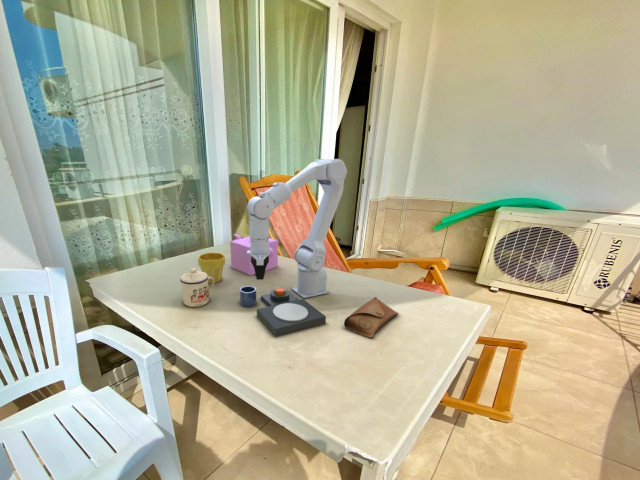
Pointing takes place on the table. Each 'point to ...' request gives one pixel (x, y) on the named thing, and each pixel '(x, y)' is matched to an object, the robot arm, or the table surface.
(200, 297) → the teacup with lid
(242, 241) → the teapot
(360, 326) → the sunglasses case
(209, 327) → the table surface
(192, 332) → the table surface
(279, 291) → the button
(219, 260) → the flower pot
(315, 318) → the scale
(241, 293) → the blue cup
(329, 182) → the robot arm
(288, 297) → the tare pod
